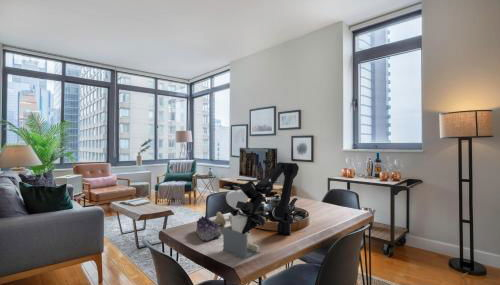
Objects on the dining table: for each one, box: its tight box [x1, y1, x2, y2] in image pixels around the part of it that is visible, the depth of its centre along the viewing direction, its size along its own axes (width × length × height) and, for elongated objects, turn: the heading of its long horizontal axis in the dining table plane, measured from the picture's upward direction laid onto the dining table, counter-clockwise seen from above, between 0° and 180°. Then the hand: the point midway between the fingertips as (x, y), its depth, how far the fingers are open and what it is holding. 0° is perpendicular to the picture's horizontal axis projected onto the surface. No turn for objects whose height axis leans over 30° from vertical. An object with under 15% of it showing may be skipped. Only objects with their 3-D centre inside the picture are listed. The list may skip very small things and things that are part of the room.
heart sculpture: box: [225, 189, 249, 220], centre depth 176 cm, size 16×5×18 cm, turn 125°
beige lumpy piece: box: [211, 211, 227, 227], centre depth 156 cm, size 11×9×9 cm
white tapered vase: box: [231, 215, 249, 248], centre depth 121 cm, size 6×6×14 cm
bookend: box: [222, 227, 260, 260], centre depth 121 cm, size 10×14×10 cm
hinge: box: [228, 214, 251, 234], centre depth 152 cm, size 17×5×10 cm, turn 25°
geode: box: [195, 215, 221, 242], centre depth 143 cm, size 20×12×10 cm, turn 30°
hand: (237, 232), depth 120 cm, fingers closed on white tapered vase, 5 cm apart
